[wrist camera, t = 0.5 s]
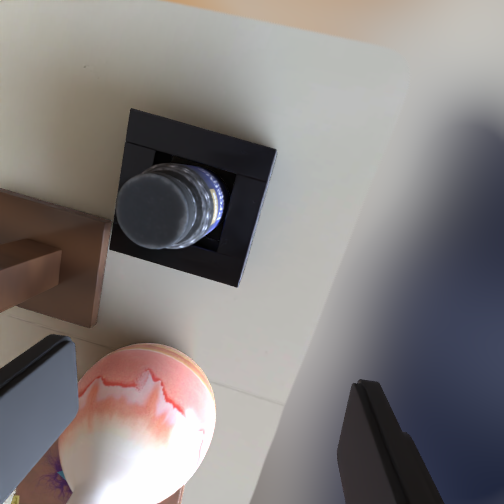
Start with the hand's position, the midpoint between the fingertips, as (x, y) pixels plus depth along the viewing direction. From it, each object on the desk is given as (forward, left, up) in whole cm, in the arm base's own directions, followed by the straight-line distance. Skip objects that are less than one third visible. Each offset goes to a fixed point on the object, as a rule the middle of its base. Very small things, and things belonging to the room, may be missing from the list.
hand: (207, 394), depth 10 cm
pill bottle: (-7, -2, -21) cm, 22 cm away
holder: (-7, -2, -20) cm, 22 cm away
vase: (+6, -18, -20) cm, 27 cm away
